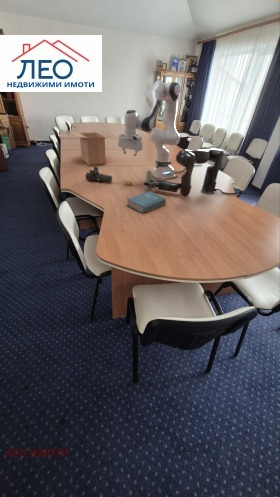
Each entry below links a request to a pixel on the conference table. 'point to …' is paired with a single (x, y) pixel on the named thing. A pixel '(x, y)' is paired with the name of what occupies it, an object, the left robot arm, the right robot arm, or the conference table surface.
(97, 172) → the laser sight
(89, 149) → the box
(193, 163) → the right robot arm
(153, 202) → the book
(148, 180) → the jar
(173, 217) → the conference table surface
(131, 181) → the lid
